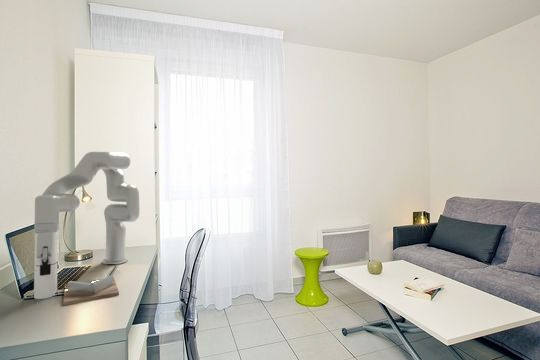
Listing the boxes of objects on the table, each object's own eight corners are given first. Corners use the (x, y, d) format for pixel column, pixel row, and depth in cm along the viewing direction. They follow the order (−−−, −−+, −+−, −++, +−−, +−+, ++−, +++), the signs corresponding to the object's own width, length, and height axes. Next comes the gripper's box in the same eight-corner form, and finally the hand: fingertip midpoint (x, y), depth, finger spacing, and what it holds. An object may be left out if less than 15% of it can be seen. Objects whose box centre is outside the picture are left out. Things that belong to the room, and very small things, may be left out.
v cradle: (64, 287, 121) (65, 274, 121) (113, 279, 132) (113, 268, 132) (63, 305, 105) (63, 291, 105) (118, 294, 115) (119, 282, 115)
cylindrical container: (44, 299, 109) (45, 234, 109) (29, 297, 110) (30, 232, 110) (61, 292, 116) (62, 230, 116) (46, 290, 117) (47, 229, 117)
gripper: (36, 224, 118) (36, 267, 118) (31, 231, 103) (31, 280, 104) (59, 222, 122) (58, 264, 122) (57, 229, 108) (56, 276, 108)
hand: (46, 271), depth 113 cm, fingers closed on cylindrical container, 7 cm apart
